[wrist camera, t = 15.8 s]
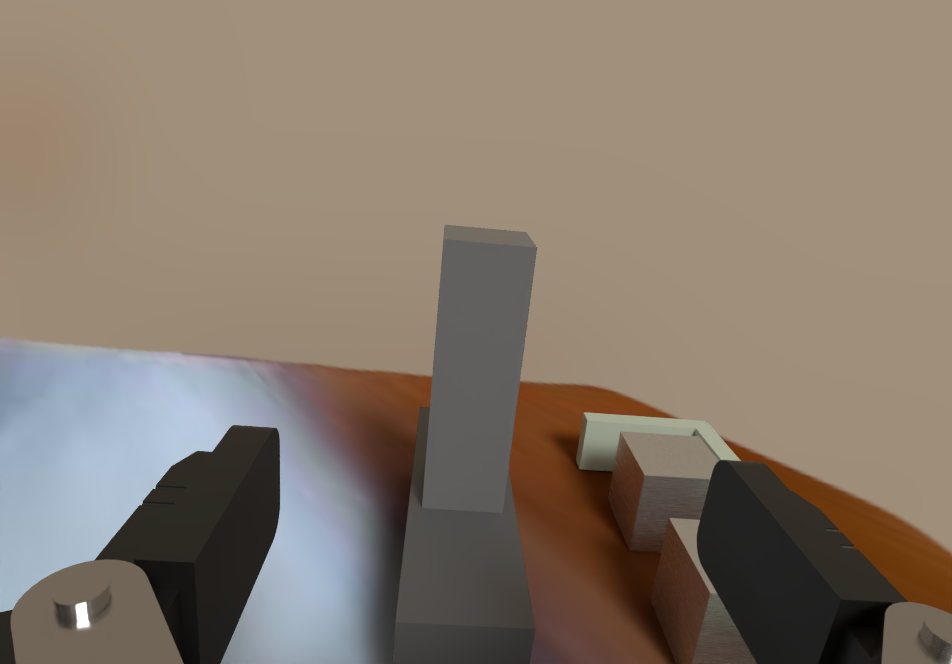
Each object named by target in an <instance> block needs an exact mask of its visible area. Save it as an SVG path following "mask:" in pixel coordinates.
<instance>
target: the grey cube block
mask: <svg viewBox="0 0 952 664" xmlns="http://www.w3.org/2000/svg"><path fill="white" fill-rule="evenodd" d="M717 462H718V459H717V458H716V457H715V456H714V454H713V453H712V452H711V451H710V449H709V448H708V447H707V446H706V444H705V443H704V442H703V441H702V439H701V438H700V437H699V436H685V435H669V434H654V433H639V432H623V431H620V436H619V442H618V447H617V452H616V458H615V463H614V469H613V474H612V479H611V485H610V490H609V496H608V501H609V504H610V506H611V508H612V511H613V513H614V515H615V518H616V520H617V523H618V525H619V527H620V530H621V532H622V535H623V537H624V539H625V542H626V544H627V547H628V549H629V551H643V552H661V551H662V547H663V543H664V538H665V534H666V529H667V525H668V521H669V518H678V519H693V520H700V518H701V514H702V510H703V506H704V502H705V499H706V495H707V491H708V487H709V483H710V479H711V475H712V471H713V468H714V466H715V465H716V463H717Z"/></svg>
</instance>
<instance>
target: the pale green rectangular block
mask: <svg viewBox="0 0 952 664" xmlns="http://www.w3.org/2000/svg"><path fill="white" fill-rule="evenodd" d="M620 431H623V432H639V433H654V434H669V435H685V436H699V437H700V438H701V439H702V441H703V442H704V443H705V444H706V446H707V447H708V448H709V449H710V451H711V452H712V453H713V454H714V456H715V457H716V458H717V459H718V461H720V460H734V461H740V460H739V458H738V457H737V456H736V455H735V454H734V453H733V451H732V450H731V449H730V448H729V447H728V446H727V444H726V443H725V442H724V441H723V440H722V439H721V438H720V436H719V435H718V434H717V433H716V432H715V431H714V430H713V428H712V427H711V426H710V425H709V424H708V422H707V421H698V420H684V419H669V418H655V417H641V416H627V415H613V414H599V413H585V412H584V414H583V420H582V426H581V432H580V438H579V444H578V450H577V456H576V462H577V464H578V467H579V469H581V470H597V471H612V472H613V469H614V463H615V458H616V452H617V447H618V442H619V436H620Z"/></svg>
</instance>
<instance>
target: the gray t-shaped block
mask: <svg viewBox="0 0 952 664" xmlns="http://www.w3.org/2000/svg"><path fill="white" fill-rule="evenodd" d="M536 251H537V247H536V245H535V244H534V243H533V241H532V240H531V238H530V237H529V236H528V234H527V233H526V232H518V231H517V232H516V231H506V230H496V229H485V228H473V227H463V226H452V225H445V227H444V240H443V253H442V265H441V278H440V289H439V301H438V302H439V303H438V314H437V326H436V340H435V351H434V363H433V364H434V365H433V376H432V388H431V401H430V408H428V407H420V410H419V419H418V427H417V436H416V445H415V454H414V462H413V471H412V480H411V489H410V497H409V506H408V515H407V523H406V532H405V541H404V550H403V558H402V567H401V576H400V585H399V593H398V602H397V611H396V620H395V632H394V647H393V661H392V664H529V663H530V657H531V650H532V644H533V638H534V632H535V626H534V620H533V614H532V608H531V602H530V596H529V590H528V584H527V578H526V572H525V566H524V560H523V554H522V548H521V542H520V536H519V530H518V524H517V518H516V512H515V506H514V500H513V493H512V487H511V481H510V475H509V469H508V467H509V460H510V452H511V444H512V436H513V429H514V421H515V413H516V406H517V398H518V390H519V382H520V374H521V367H522V359H523V351H524V344H525V336H526V328H527V320H528V313H529V305H530V297H531V290H532V282H533V274H534V267H535V259H536Z"/></svg>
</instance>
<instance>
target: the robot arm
mask: <svg viewBox="0 0 952 664" xmlns="http://www.w3.org/2000/svg"><path fill="white" fill-rule="evenodd" d="M279 511H280V441H279V433H278V430H277V429H276V428H268V427H253V426H239V425H233V426H231V428H230V429H229V430H228V431H227V433H226V434H225V435H224V437H223V438H222V440H221V441H220V442H219V444H218V445H217V446H216V448H215V449H214V451H213V452H204V451H196V452H195V453H193V454H191V455H190V456H188V457H186V458H185V459H183V460H181V461H180V462H178V463H176V464H175V465H173V466H171V468H170V469H169V470H168V471H167V473H166V474H165V475H164V476H163V477H162V479H161V480H160V481H159V482H158V483H157V485H156V489H153V490H152V491H151V492H150V493H149V494H148V496H147V497H146V498H145V499H144V501H143V504H142V505H139V507H138V508H137V509H136V510H135V511H134V513H133V514H132V515H131V516H130V518H129V519H128V520H127V521H126V522H125V524H124V525H123V526H122V527H121V529H120V530H119V531H118V532H117V533H116V535H115V536H114V537H113V538H112V539H111V541H110V542H109V543H108V544H107V546H106V547H105V548H104V549H103V550H102V552H101V553H100V554H99V555H98V557H97V558H96V559H95V560H94V561H89V562H84V563H80V564H76V565H73V566H70V567H67V568H64V569H62V570H60V571H58V572H55V573H53V574H51V575H49V576H48V577H46V578H44V579H42V580H41V581H39V582H38V583H37V584H35V585H34V586H32V587H31V588H30V589H29V590H28V591H27V592H26V593H25V594H24V595H23V596H22V597H21V598H20V599H19V600H18V602H17V603H16V605H15V607H14V609H13V610H10V611H5V612H0V664H220V663H221V661H222V658H223V656H224V654H225V651H226V649H227V647H228V644H229V642H230V640H231V638H232V635H233V633H234V631H235V628H236V626H237V624H238V621H239V619H240V617H241V614H242V612H243V610H244V607H245V605H246V603H247V600H248V598H249V596H250V593H251V591H252V589H253V586H254V584H255V582H256V579H257V577H258V575H259V572H260V570H261V568H262V565H263V563H264V561H265V558H266V556H267V554H268V551H269V549H270V547H271V545H272V542H273V540H274V537H275V533H276V529H277V525H278V519H279ZM697 552H698V557H699V560H700V563H701V565H702V567H703V569H704V571H705V573H706V575H707V576H708V578H709V580H710V582H711V583H712V585H713V587H714V589H715V590H716V592H717V594H718V596H719V598H720V599H721V601H722V603H723V605H724V606H725V608H726V610H727V612H728V613H729V615H730V617H731V619H732V621H733V622H734V624H735V626H736V628H737V629H738V631H739V633H740V635H741V636H742V638H743V640H744V642H745V643H746V645H747V647H748V649H749V651H750V652H751V654H752V656H753V658H754V659H755V661H756V663H757V664H952V614H950V613H947V612H945V611H943V610H940V609H937V608H934V607H931V606H928V605H924V604H919V603H912V602H908V601H907V600H906V599H905V598H904V597H903V596H902V595H901V594H900V593H899V592H898V591H897V590H896V589H895V588H894V587H893V586H892V585H891V583H890V582H889V581H888V580H887V579H886V578H885V577H884V576H883V575H882V574H881V573H880V572H879V571H878V570H877V569H876V568H875V567H874V566H873V565H872V564H871V563H870V562H869V560H868V559H867V558H866V557H865V556H864V555H863V554H862V553H861V552H860V551H859V550H857V549H854V545H853V544H852V543H851V542H850V541H849V540H848V538H847V537H846V536H845V535H844V534H843V533H840V532H838V528H837V527H836V526H835V525H834V524H833V523H832V522H831V521H830V520H829V519H828V518H827V517H826V515H825V514H824V513H823V512H822V511H821V510H820V509H819V508H817V507H816V506H814V505H812V504H811V503H809V502H808V501H806V500H805V499H803V498H802V497H800V496H799V495H797V494H796V493H794V492H793V491H790V490H789V489H788V488H787V487H786V486H785V485H784V484H783V483H782V482H781V480H780V479H779V478H778V477H777V476H776V475H775V474H774V473H773V472H772V471H771V470H770V469H769V467H768V466H766V465H765V464H764V463H761V462H749V461H734V460H720V461H718V462H717V463H716V465H715V466H714V468H713V471H712V475H711V479H710V483H709V487H708V491H707V495H706V499H705V502H704V506H703V510H702V514H701V518H700V522H699V526H698V531H697Z"/></svg>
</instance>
